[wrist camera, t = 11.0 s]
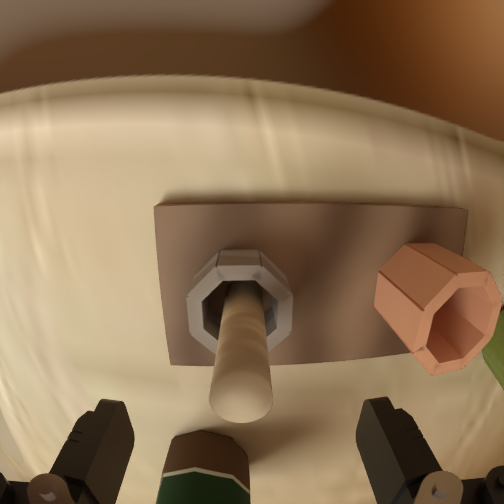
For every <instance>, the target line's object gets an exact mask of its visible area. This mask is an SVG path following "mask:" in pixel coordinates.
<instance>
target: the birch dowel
mask: <svg viewBox="0 0 504 504" xmlns="http://www.w3.org/2000/svg"><path fill="white" fill-rule="evenodd" d="M209 403H210V406H211V408H212V410H213V411H214V412H215V413H216V414H217V415H218V416H219V417H221V418H223V419H225V420H227V421H231V422H236V423H248V422H253V421H256V420H258V419H260V418H262V417H264V416H265V415H266V414H267V413H268V412H269V411H270V409H271V407H272V404H273V396H272V386H271V377H270V367H269V357H268V347H267V337H266V328H265V318H264V308H263V299H262V290H261V287H260V285H259V284H258V283H257V282H256V281H255V280H236V281H232V282H231V283H230V284H229V285H228V287H227V290H226V296H225V302H224V308H223V314H222V320H221V326H220V333H219V339H218V345H217V351H216V358H215V364H214V370H213V377H212V383H211V390H210V396H209Z"/></svg>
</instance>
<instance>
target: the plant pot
mask: <svg viewBox="0 0 504 504" xmlns="http://www.w3.org/2000/svg"><path fill="white" fill-rule="evenodd" d="M490 338H491V340H490V341H489V342H488V343H487V344H486V345H485V346H484V347H483V349H482V353H483V357H484V360H485V362H486V364H487V365H488V366H489V368H490V369H491V371H492V372H493V374H494V375H495V377H496V378H497V380H498V382H499V383H500V385H501V386H502V388H503V389H504V309H503V310H502V311H501V312H500V313H499V317H498V320H497V323H496V327H495V330H494V333H493V337H490Z"/></svg>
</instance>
